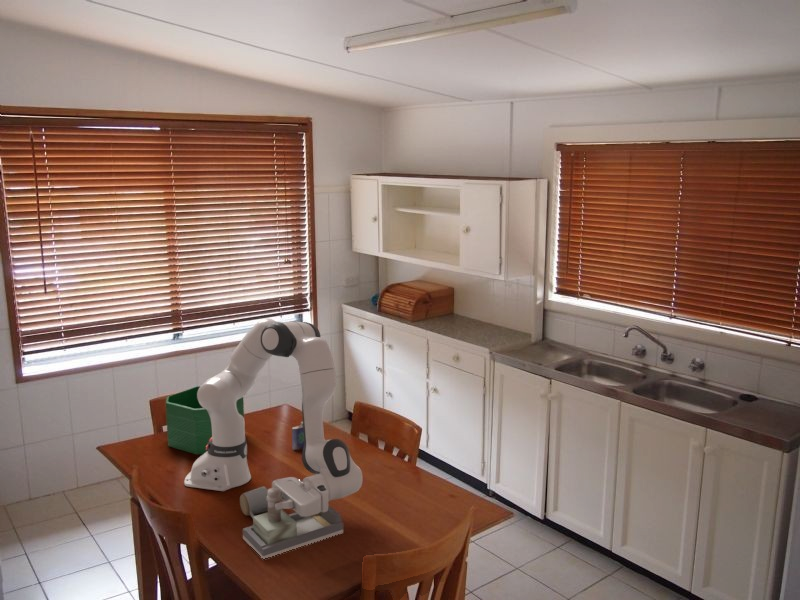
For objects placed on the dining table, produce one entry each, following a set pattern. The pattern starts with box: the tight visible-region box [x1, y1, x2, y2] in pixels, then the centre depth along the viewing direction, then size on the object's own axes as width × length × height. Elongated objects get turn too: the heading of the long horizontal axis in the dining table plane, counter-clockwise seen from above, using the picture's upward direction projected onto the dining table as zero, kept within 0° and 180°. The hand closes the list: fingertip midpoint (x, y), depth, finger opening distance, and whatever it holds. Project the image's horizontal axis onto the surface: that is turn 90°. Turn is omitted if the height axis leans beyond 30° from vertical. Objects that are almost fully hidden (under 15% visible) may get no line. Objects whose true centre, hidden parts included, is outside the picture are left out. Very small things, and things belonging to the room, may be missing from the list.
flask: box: [291, 420, 304, 451], centre depth 272 cm, size 9×3×11 cm, turn 121°
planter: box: [165, 385, 245, 455], centre depth 278 cm, size 26×26×18 cm
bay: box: [242, 504, 344, 560], centre depth 207 cm, size 26×14×5 cm, turn 126°
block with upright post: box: [252, 487, 297, 546], centre depth 203 cm, size 9×10×15 cm
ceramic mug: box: [239, 486, 268, 519], centre depth 220 cm, size 11×8×8 cm
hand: (271, 502), depth 201 cm, fingers closed on block with upright post, 4 cm apart
